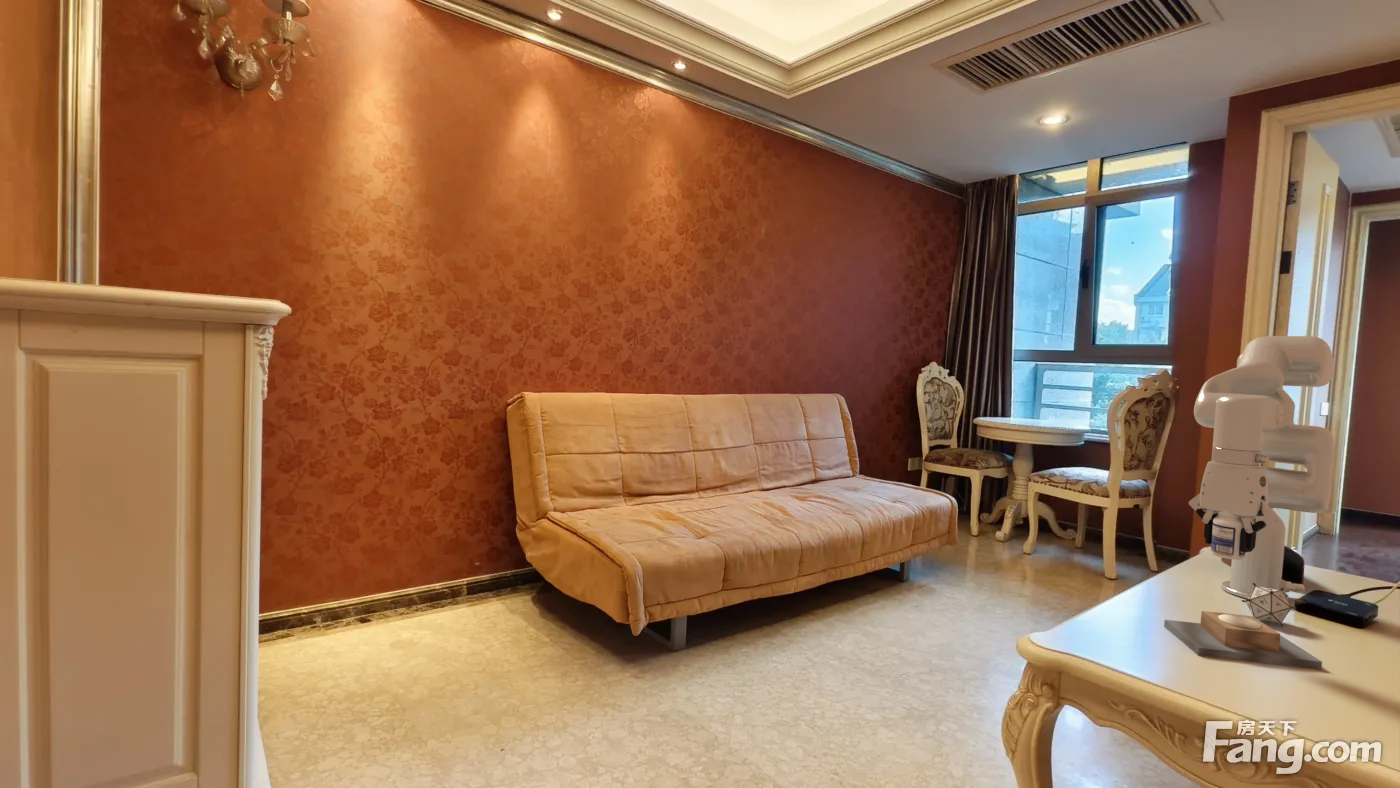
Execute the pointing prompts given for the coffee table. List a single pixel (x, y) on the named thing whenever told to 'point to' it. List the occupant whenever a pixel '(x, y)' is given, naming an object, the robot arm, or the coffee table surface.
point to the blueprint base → (1240, 653)
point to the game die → (1268, 604)
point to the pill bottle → (1227, 536)
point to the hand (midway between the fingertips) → (1228, 546)
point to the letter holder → (1287, 566)
